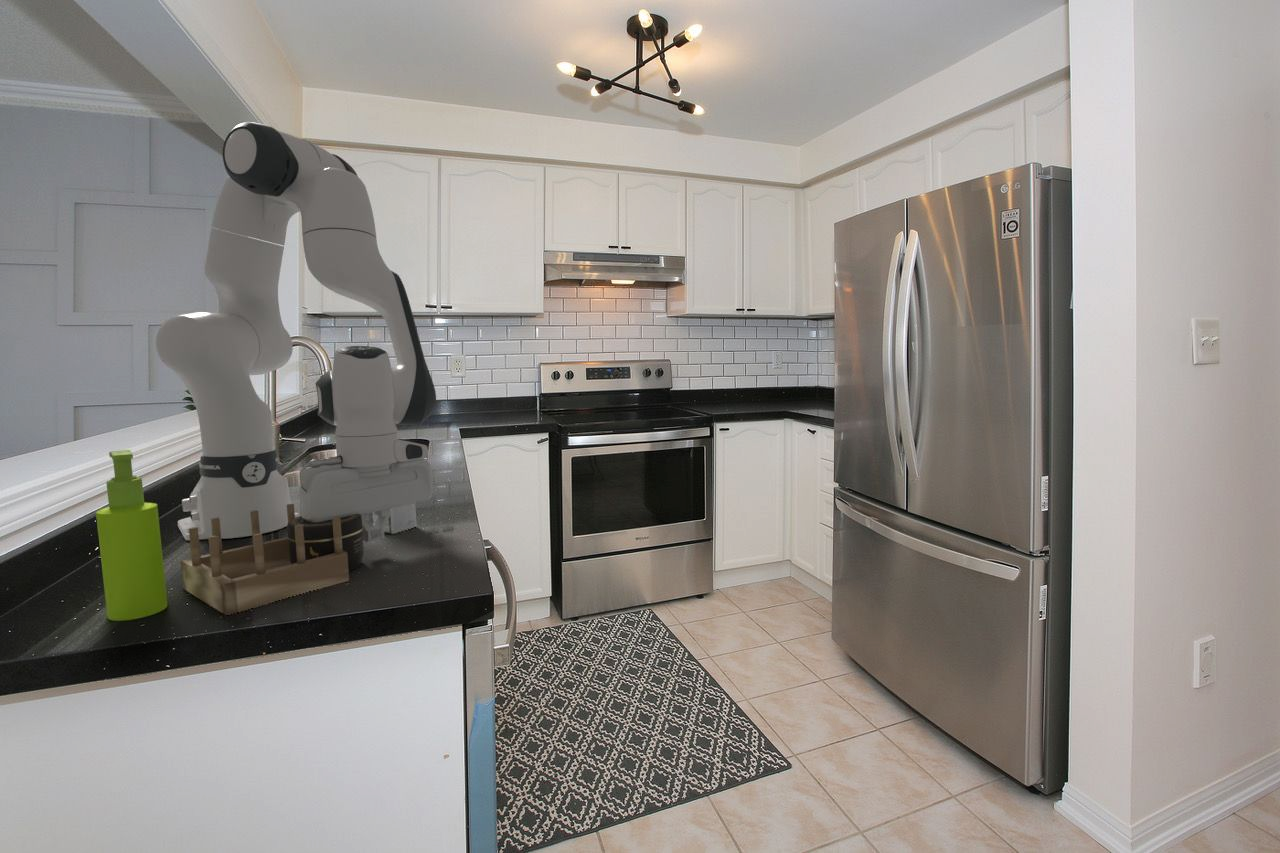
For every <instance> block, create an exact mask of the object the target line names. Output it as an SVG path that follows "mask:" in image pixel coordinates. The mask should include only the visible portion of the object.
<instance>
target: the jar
mask: <svg viewBox="0 0 1280 853" xmlns="http://www.w3.org/2000/svg"><path fill="white" fill-rule="evenodd" d="M340 520H341V535H342V549H343V551H344V552H347V555H348V570H349V572H350V571H353V570H355V569H356V568H358V567H359V566H360V565H361V563H362V561H363V556H364V541H363V533H362V530H363V526H362V518H361V515H360V514H354V515H350V516H345V517H340ZM297 525H303V532H304V545H305V558H306V560H310V559H313V558H317V557H321V556H325V555H329V554H333V553H335V549H334V535H333V521H332V519H331V520H327V521H322V522H316V523H313V522H308V521H305V520H304V519H303V518H302V517H301V515H299V517H296V518H294V519H292V520H290V521H289V522H288V525H287V526H286V527H287V530H286V532H287V535H286V537H287V539H288V541H289V553H290V562H291V564H294V563H297V553H296V540H295V528H294V526H297Z"/></svg>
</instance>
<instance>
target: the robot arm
mask: <svg viewBox="0 0 1280 853" xmlns="http://www.w3.org/2000/svg"><path fill="white" fill-rule="evenodd" d="M222 162H223V166H224V169H225V171H226V173H227V175H228V176H226V178H225V179H224V182H223V185H222V187H221V189H220V192H219V195H218V197H217V200H216V204H215V206H214V207H215V208H214V211H213V214H212V219H211V224H210V225H211V226H210V231H209V237H208V243H207V244H208V245H207V250H206V256H205V261H204V262H205V263H204V274H205V276H206V278H207V280H208V281H209V283H211V285H213V287H214V289H215V291H216V293H217V297H218V303H219V305H218V306H219V313H218V312H208V311H195V312H190V313H184V314H179V315H175V316H171V317H170V318H167V319H166V320H165V321H164V322H163V323H161V324H160V326H159V328H158V330H157V332H156V338H155V347H156V352H157V354H158V357H159V358H160V360H161V362H162V363H163V364H164V365H165V367H167V368H168V369H169V370H171V371H172V372H174V373H175V374H176V375H177V376H178V377H179V378H180V379H181V381H182V382H183V383H184V385H185V387H186V389H187V391H188V392H189V394H190V396H191V399H192V401H193V403H194V406H195V409H196V414H197V418H198V423H199V430H200V431H199V432H200V438H201V449H202V454H201V456H200V462H199V463H198V464H199V465H198V466H199V475H200V479H199V480H198V482H197V483H196V485H195V487H194V488H193V491H191V493H190V495H189V498H183V499H181V506H182V507H181V508H182V512H190V516H189V517H184V518H182V519H179V520H178V521H177V527H178V529H179V531H180V532H181V534H182V537H183V538H184V539H185V540H184V541H190V537H189V528H192V527H198V533H199V541H200V540H209V539H208V537H210V536H212V526H211V518H216V517H219V519H220V530H221V540H222V539H234V538H236V539H237V538H244V537H250V536H251V537H252V526H251V515H250V511H254V510H258V514H259V526H260V534H262V535H263V534H266V533H271V532H274V531H275V532H276V531H278V530H281V529H283V528H285V527H287V525H288V518H287V504H292V502H291V496H290V490H289V484H288V479H287V478H286V477H285V476H284V475H281V473H279V471H278V469H279V461H280V459H279V456H278V451H277V449H275V443H274V442H275V440H274V439H275V438H274V430H273V418H272V417H273V416H272V411H271V408H270V406H269V405H268V404H267V403H266V402H265V401H263V399H261V398H260V397H259V395H258V393H257V392H256V390H255V388H254V386H253V384H252V380H251V376H260V375H265V374H268V373H271V372H273V371H276V370H278V369H281V368H283V367H284V366H285V365H286V364H287V363H288V362H290V359H291V358H292V354H293V349H294V348H293V341H292V340H293V339H292V337H291V335H290V333H289V331H288V330H287V329H286V328H285V326H284V324H283V321H282V320H283V319H282V317H281V309H280V306H279V305H280V303H279V281H280V274H281V267H282V262H283V255H284V251H285V249H284V248H285V243H286V237H287V229H288V224H289V222H290V219H291V218H292V217H293V216H294V215H295V214H297V213H299V212H300V216H301V231H302V233H301V234H302V243H303V244H302V245H303V251H304V257H305V262H306V265H307V266H306V267H307V268H308V270H309V272H310V273H311V275H312V276H313V278H315V279H316V280H317V282H318V283H320V284H321V285H322V286H324V287H325V288H326V289H328V290H330V291H331V292H333V293H335V294H338V295H340V296H342V297H346V298H348V299H351V300H353V301H356V302H358V303H361V304H363V305H366V306H368V307H370V308H371V309H374V310H375V311H376V312H377V313H379V315H380V316H382V318H383V319H384V321H385V324H386V326H387V329H388V332H389V337H390V340H391V344H392V347H393V351H394V355H395V358H396V362H397V365H396V366H392V365H391V364H392V363H391V361H390V357H389V354H388V352H387V351H386V350H384V349H382V348H380V347H376V346H367V345H352V346H351V345H348V346H343V347H340V348H338V349H337V350H335V351H334V354H333V361H332V369H331V370H328V371H325V373H324V374H322V376H320V378H318V379H317V380H316V381H315V388H316V393H317V416H319V417H320V418H321V419H322V420H324V421H325V422H326V423H328V424H330V425H331V426H336V427H335V431H334V432H335V433H334V434H335V435H334V437H335V451H336V456H330V457H325V458H321V459H319V458H316V459H315V458H314V459H312V460H309V461H308V463H305V465H303V466H302V467H301V469H300V470H299V476H298V477H299V484H300V487H301V491H300V513H299V512H295V518H296V517H299V516H301V517H302V518H303V519H304V520H305V521H308V522H313V523H316V522H322V521H327V520H331V519H332V518H335V517H345V516H350V515H354V514H360V515H361V518H362V526H363V530H362V533H363V542H367V543H368V542H372V541H377V540H381V539H384V538H385V537H386V536H385V533H384V527H385V526H386V524H387V521H388V519H389V517H390V509H391V508H396V507H400V506H405V505H410V504H414V503H415V504H418V503H423V502H427V501H429V500H430V499H431V497H432V496H433V493H434V482H433V474H432V468H431V465H430V463H429V461H428V460H427V459H426V458H427V457H428V455H429V450H428V448H429V447H428V446H427V445H425V444H421V443H417V442H412V441H408V440H405V439H400V438H399V436H398V434H399V433H398V427H397V425H398V426H399V425H402V426H419V425H420V424H422V423H424V422H425V421H426V420H427V419H428V418H429V417H430V416H431V414H433V412H434V411H435V409H436V408H437V407H436V406H437V393H436V388H435V385H434V382H433V379H432V376H431V373H430V370H429V367H428V365H427V361H426V358H425V356H424V352H423V348H422V343H421V341H420V337H419V334H418V329H417V326H416V325H417V324H416V323H415V322H416V321H415V318H414V314H413V310H412V307H411V304H410V300H409V297H408V294H407V291H406V288H405V285H404V283H403V281H402V279H401V277H400V275H399V274H398V273H396V272H394V271H393V270H391V269H390V268H389V267H388V265H387V264H386V263H385V261H384V259H383V258H382V255H381V253H380V250H379V246H378V240H377V232H376V224H375V217H374V213H373V209H372V204H371V199H370V197H369V192H368V190H367V187H366V185H365V184H364V182H363V180H362V179H361V178H360V177H359V176H358V174H357V171H355V169H354V168H353V167H352V166H351V165H350V164H349V162H347V161H346V160H344V158H342V157H340V156H339V155H337V154H333V153H330V152H329V151H328V150H326V149H324V148H322V147H321V146H319V145H317V144H315V143H313V142H311V141H309V140H307V139H304V138H300V137H298V136H294V135H292V134H289V133H286V132H284V131H280V130H277V129H276V128H274V127H273V126H270V125H267V124H264V123H258V122H253V121H252V122H251V121H245V122H242V123H239V124H237V125H235V127H233V128H232V129H231V130H230V132H228V134H227V135H226V137H225V140H224V142H223V146H222ZM373 512H375V515H377V516H378V518H377V520H376V523H375V525H374V527H372V526H371V527H370V526H369V524H368V523H367V521H370V514H371V513H373Z"/></svg>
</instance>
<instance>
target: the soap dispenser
mask: <svg viewBox="0 0 1280 853" xmlns="http://www.w3.org/2000/svg"><path fill="white" fill-rule="evenodd" d="M108 455H109V458H111V459H112V462H113V473H114V477H111V479H109V480H107V481H106V483H105V484H106V492H107V500H108V506H107V507H104V508H100V509H98V510H97V511H96V512H95V517H96V519H95V520H96V527H97V535H98V543H99V544H98V546H99V555H100V562H101V570H102V571H101V572H102V581H103V586H104V587H103V590H104V598H105V606H106V607H105V608H106V616H107V619H108V620H109V621H115V622H116V621H117V622H121V621H123V622H125V621H132V620H133V621H134V620H137V619H141V618H146V617H150V616H152V615H156V614H157V613H160V612H163V611H164V610H166V608H167V607H168V598H167V597H168V596H167V587H166V578H165V568H164V567H165V566H164V559H163V549H162V548H163V547H162V538H161V528H160V527H161V526H160V519H159V508H158V504H157V503H154V502H146V501H145V496H144V488H143V478H142V477H139V476H137V475H135V474H133V466H132V465H133V464H132V460H133V458H134V455H133V453H132V451H131V450H129V449H126V450H125V449H123V450H115V451H109V453H108Z"/></svg>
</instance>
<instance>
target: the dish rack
mask: <svg viewBox="0 0 1280 853" xmlns="http://www.w3.org/2000/svg"><path fill="white" fill-rule="evenodd" d="M250 515H251V526H252V536H251V537H252V544H248V545H245V546H241V547H236V548H231V549H226V550H223V543H222V542H223V541H222V539H221V530H220V519H219V517H216V518H211V526H212V536H210V537H208V539H207V540H208V547H209V548H208V549H209V553H207V554H205V555H201V547H200V546H201V544H200V540H199V533H198V527H192V528H189V537H190V540H189V548H190V556H191V557H190V558H186V559H181V560H180V566H181V575H182V576H181V577H182V586H183V587H182V588H183V590H184V591H186V592H188V593H190V594H191V595H193V596H194V597H196V598H197V599H199V600H200V601H202V602H204V603H206V604H207V605H208V606H211V608H214V609H215V610H217V611H218V612H220V613H222V614H223V613H224V614H223V615H224V616H226V615H229V616H232V615H234V613H235V614H238V613H237V612H239V613H242V612H245V610H246V611H249V610H252V609H251V608H253V609H256V608H259V606H260V607H262V605H263V606H266V605H270V604H273V603H276V602H275V601H277V602H279V601H278V600H280V601H283V600H282V599H284V600H286V599H285V598H287V599H289V598H288V597H290V598H293V597H292V596H294V597H297V596H300V595H299V594H301V595H303V593H304V594H306V592H308V593H310V592H309V591H311V592H314V591H313V590H315V591H317V589H318V590H322V589H325V588H328V587H332V586H334V585H338V584H341V583H345V582H349V581H350V573H349V572H350V571H349V570H348V555H347V552H344V551H343V549H342V535H341V520H340V517H335V518H332V521H333V535H334V549H335V553H333V554H329V555H325V556H321V557H317V558H313V559H310V560H306V558H305V545H304V532H303V525H297V526H294V528H295V540H296V553H297V563H294V564H291V562H290V553H289V541H288V539H287V536H285V537H281V538H277V539H272V540H267V541H264V539H263V533H262V534H260V526H259V514H258V510H254V511H250ZM287 518H288V522H289V521H290V520H292V519H294V518H295V503H291V504H287ZM324 587H325V588H324ZM296 595H297V596H296ZM272 602H273V603H272ZM269 603H270V604H269ZM248 609H249V610H248ZM241 611H242V612H241ZM231 614H232V615H231Z"/></svg>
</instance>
